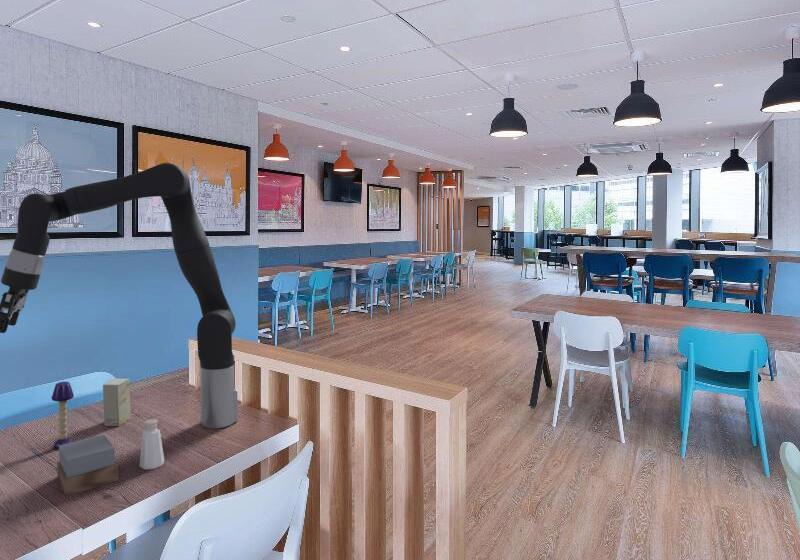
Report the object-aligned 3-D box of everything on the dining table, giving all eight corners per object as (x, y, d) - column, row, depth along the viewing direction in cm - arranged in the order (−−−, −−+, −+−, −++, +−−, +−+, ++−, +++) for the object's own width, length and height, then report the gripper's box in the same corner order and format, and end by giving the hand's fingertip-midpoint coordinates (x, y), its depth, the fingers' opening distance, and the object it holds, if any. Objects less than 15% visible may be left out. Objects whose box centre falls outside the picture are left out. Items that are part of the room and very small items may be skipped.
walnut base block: (107, 465, 118) (107, 449, 118) (118, 481, 111) (117, 465, 111) (57, 478, 112) (56, 462, 111) (65, 497, 104) (64, 480, 104)
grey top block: (104, 450, 117) (104, 434, 117) (115, 464, 111) (114, 447, 110) (59, 462, 111) (58, 445, 111) (67, 478, 105) (66, 460, 104)
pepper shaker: (154, 471, 115) (152, 426, 114) (134, 468, 116) (132, 423, 115) (169, 460, 121) (168, 417, 119) (150, 457, 122) (148, 415, 120)
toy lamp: (72, 439, 130) (69, 378, 128) (78, 445, 127) (75, 382, 125) (51, 445, 126) (47, 383, 124) (57, 451, 123) (53, 387, 121)
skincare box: (119, 426, 139) (117, 385, 137) (103, 426, 139) (101, 384, 137) (131, 418, 145) (130, 378, 143) (116, 417, 145) (115, 377, 144)
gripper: (34, 276, 122) (14, 338, 122) (47, 269, 135) (29, 325, 135) (-3, 267, 119) (-23, 331, 119) (14, 261, 132) (-4, 319, 132)
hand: (5, 328), depth 127 cm, fingers open, 8 cm apart
